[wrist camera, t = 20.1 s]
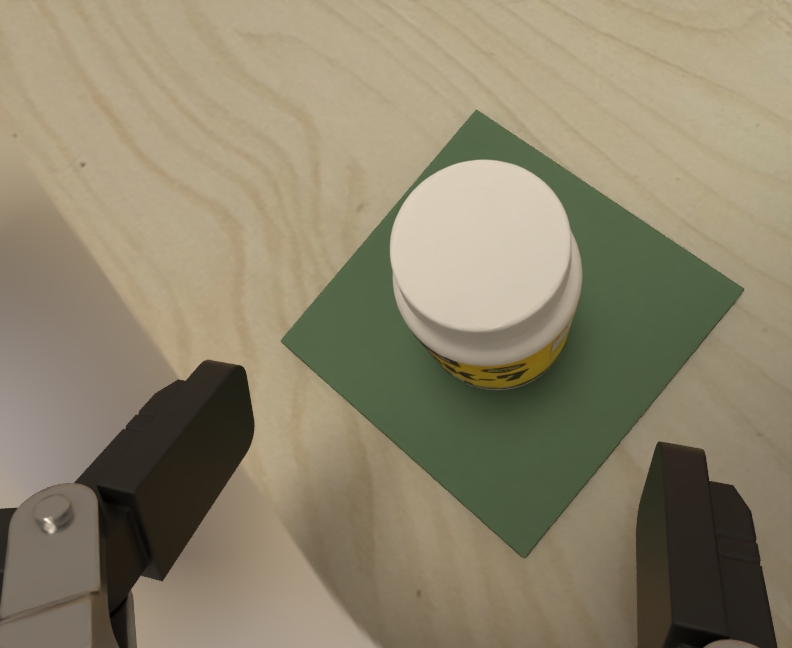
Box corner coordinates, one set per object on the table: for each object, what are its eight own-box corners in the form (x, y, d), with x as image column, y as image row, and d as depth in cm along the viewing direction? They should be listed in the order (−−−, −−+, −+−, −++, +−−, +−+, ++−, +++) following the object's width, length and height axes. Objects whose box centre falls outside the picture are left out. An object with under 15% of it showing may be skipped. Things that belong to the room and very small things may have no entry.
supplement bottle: (406, 364, 23) (337, 307, 15) (454, 238, 24) (412, 118, 15) (542, 413, 22) (547, 380, 14) (589, 279, 22) (621, 171, 14)
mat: (741, 292, 22) (745, 288, 21) (524, 557, 21) (523, 559, 21) (477, 114, 25) (476, 108, 24) (283, 342, 24) (279, 340, 24)
